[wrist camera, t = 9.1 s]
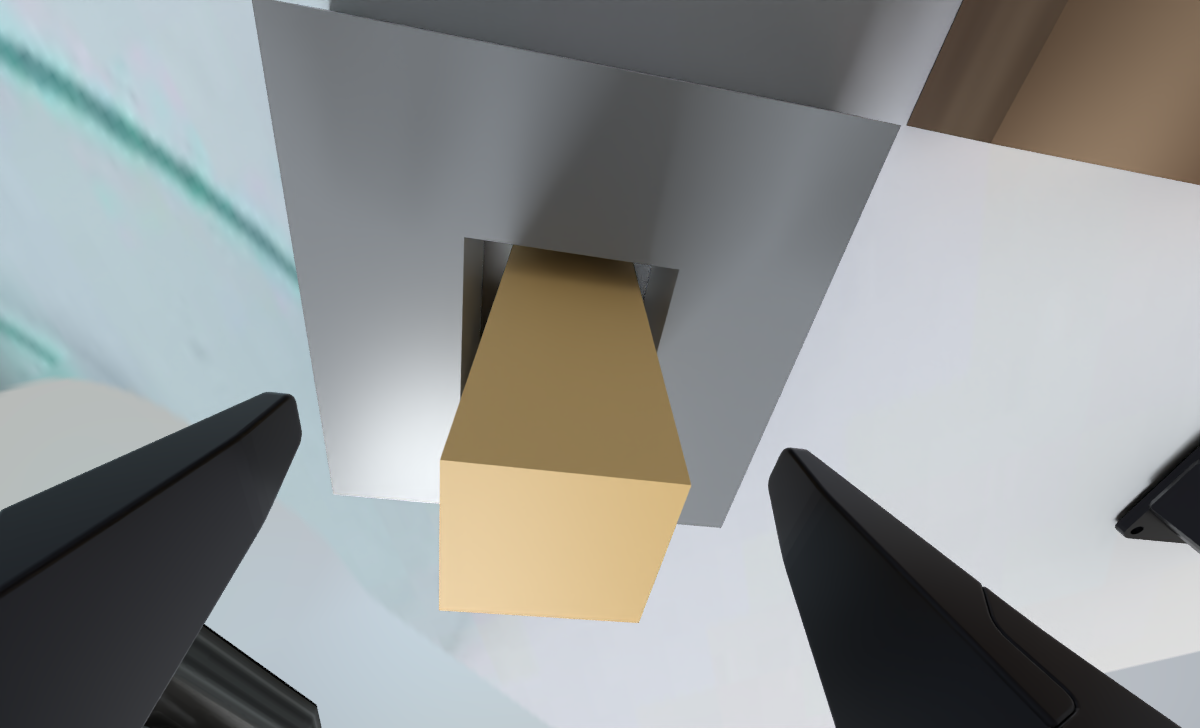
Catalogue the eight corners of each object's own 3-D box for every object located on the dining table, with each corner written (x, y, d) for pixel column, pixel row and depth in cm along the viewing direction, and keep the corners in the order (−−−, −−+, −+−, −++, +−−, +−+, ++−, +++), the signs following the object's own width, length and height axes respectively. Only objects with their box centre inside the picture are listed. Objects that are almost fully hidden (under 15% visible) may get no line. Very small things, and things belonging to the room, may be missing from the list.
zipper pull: (-338, 591, 10) (291, 891, 24) (-18, 403, 16) (346, 731, 29) (-665, 653, 11) (123, 911, 24) (-249, 452, 17) (208, 750, 30)
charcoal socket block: (833, 110, 12) (900, 125, 10) (701, 462, 18) (720, 527, 16) (328, 10, 11) (251, -4, 8) (369, 429, 17) (333, 494, 14)
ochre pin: (629, 250, 14) (691, 484, 6) (609, 346, 16) (638, 622, 8) (517, 233, 14) (439, 459, 6) (508, 333, 15) (439, 610, 8)
